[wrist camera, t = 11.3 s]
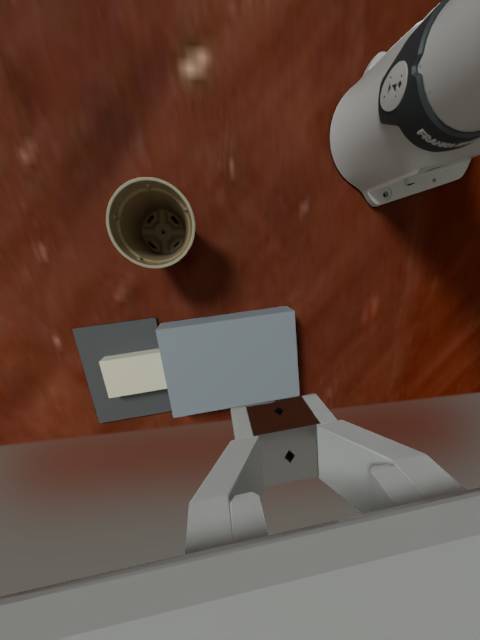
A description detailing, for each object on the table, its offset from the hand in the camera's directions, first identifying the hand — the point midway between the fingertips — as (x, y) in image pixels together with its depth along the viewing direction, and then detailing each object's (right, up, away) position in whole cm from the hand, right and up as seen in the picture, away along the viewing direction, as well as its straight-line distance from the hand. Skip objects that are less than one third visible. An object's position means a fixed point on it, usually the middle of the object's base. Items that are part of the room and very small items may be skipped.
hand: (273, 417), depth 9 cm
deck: (-3, -2, +32) cm, 33 cm away
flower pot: (-12, +16, +27) cm, 34 cm away
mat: (-19, -5, +31) cm, 37 cm away
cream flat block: (-17, -4, +31) cm, 35 cm away
